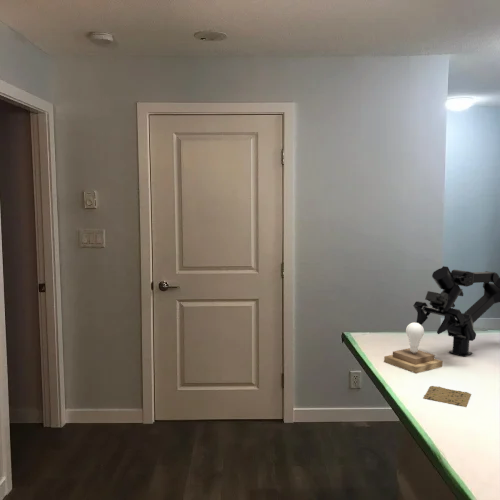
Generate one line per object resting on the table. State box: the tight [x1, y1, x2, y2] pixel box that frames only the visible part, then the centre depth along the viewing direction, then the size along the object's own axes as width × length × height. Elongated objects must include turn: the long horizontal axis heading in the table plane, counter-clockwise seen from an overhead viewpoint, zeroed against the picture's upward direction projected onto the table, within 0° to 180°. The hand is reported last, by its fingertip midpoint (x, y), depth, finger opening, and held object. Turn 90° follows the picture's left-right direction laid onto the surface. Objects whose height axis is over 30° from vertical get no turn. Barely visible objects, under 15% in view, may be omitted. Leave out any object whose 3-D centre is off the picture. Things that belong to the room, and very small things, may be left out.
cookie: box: [422, 385, 472, 408], centre depth 149 cm, size 12×12×1 cm
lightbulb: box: [405, 322, 425, 353], centre depth 178 cm, size 6×6×11 cm
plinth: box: [383, 347, 443, 374], centre depth 178 cm, size 14×14×4 cm
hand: (426, 330), depth 181 cm, fingers open, 9 cm apart
